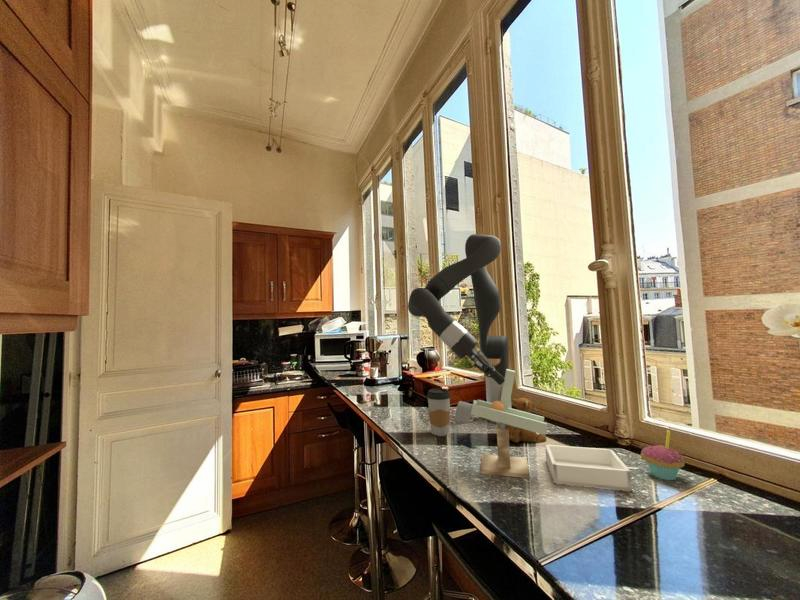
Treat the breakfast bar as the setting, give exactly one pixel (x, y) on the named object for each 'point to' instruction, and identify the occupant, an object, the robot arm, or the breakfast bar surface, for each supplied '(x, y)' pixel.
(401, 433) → the breakfast bar surface
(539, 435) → the stuffed squirrel
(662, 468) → the cupcake
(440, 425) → the coffee cup
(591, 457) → the tub
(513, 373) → the tilting chute
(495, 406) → the ball
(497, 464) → the fulcrum stand
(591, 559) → the breakfast bar surface
